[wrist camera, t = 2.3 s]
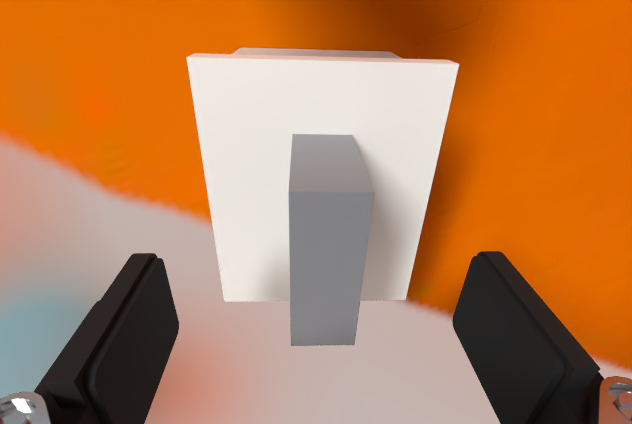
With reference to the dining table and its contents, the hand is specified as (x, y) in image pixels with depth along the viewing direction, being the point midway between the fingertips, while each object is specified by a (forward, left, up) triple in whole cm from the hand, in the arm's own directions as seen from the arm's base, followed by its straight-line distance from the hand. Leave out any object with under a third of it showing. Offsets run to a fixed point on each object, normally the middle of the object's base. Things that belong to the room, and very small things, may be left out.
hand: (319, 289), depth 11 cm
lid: (0, 0, -6) cm, 6 cm away
